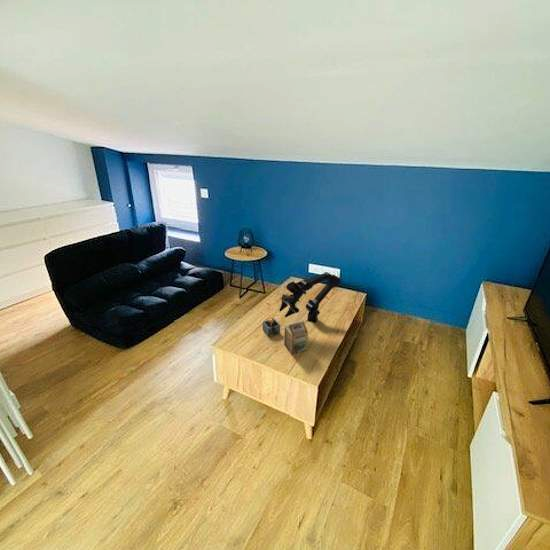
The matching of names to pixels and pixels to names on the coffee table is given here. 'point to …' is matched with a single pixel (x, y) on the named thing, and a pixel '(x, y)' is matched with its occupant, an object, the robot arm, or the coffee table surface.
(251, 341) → the coffee table surface
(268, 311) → the coffee table surface
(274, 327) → the press
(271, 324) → the plunger
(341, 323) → the coffee table surface
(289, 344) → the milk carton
